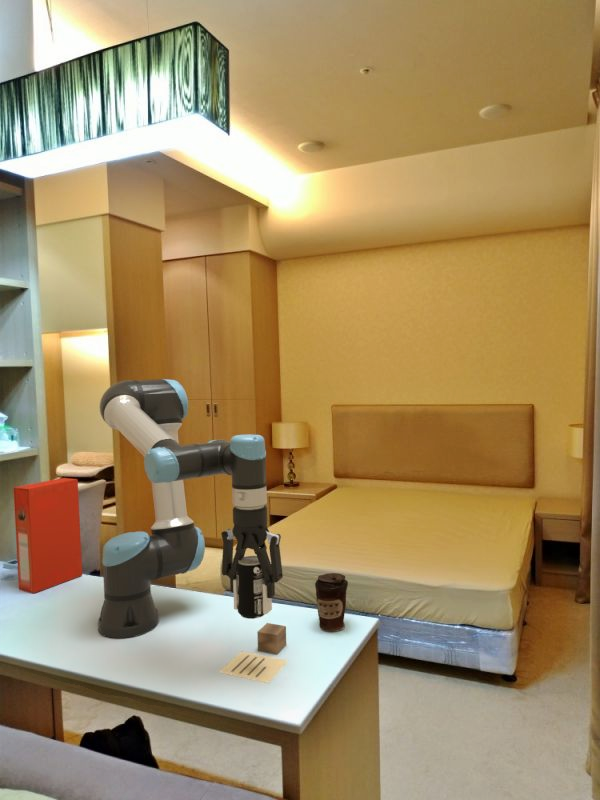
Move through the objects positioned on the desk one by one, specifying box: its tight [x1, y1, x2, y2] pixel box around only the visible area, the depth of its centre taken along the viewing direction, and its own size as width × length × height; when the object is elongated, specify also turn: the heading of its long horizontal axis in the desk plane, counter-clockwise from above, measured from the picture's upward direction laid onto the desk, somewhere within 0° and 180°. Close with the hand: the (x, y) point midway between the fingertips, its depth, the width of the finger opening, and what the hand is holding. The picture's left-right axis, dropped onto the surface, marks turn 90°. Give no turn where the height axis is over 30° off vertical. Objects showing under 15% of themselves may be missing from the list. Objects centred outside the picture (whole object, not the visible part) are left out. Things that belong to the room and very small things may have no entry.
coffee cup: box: [314, 572, 349, 632], centre depth 145 cm, size 9×8×13 cm
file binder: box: [13, 477, 83, 594], centre depth 182 cm, size 8×17×32 cm, turn 149°
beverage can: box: [237, 555, 266, 620], centre depth 126 cm, size 7×7×12 cm
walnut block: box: [256, 622, 287, 655], centre depth 135 cm, size 5×5×5 cm
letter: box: [219, 650, 289, 684], centre depth 126 cm, size 12×10×1 cm
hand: (252, 609), depth 126 cm, fingers closed on beverage can, 6 cm apart
